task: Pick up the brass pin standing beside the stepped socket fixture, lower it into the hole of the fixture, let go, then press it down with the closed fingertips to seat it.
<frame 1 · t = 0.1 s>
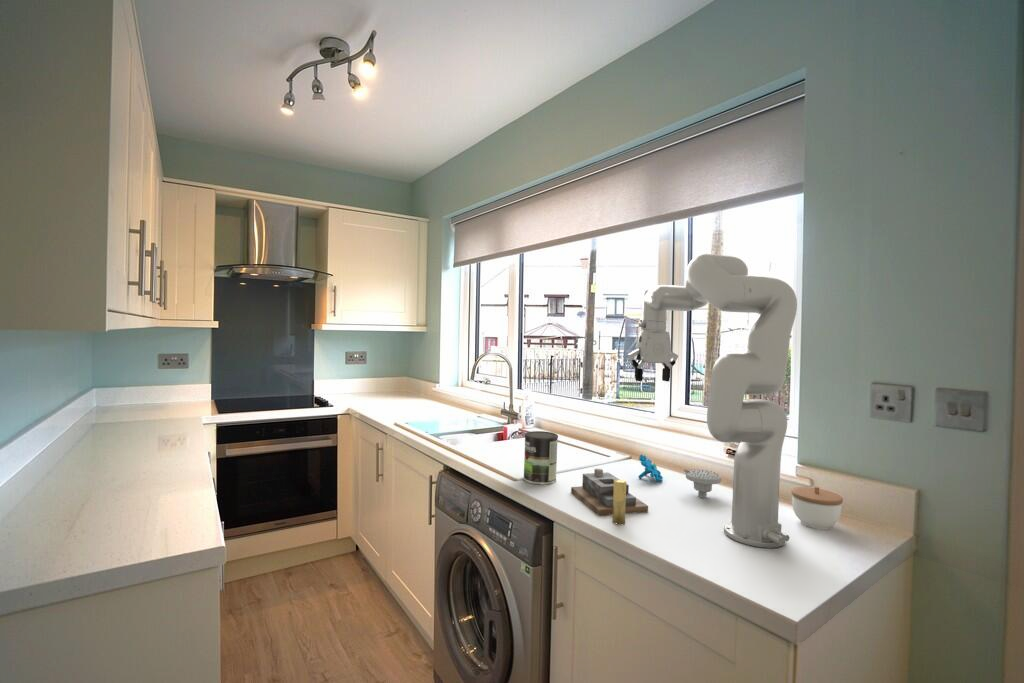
hand: (652, 381, 155), 31 cm above the worktop, tool pointing down, fingers open, 9 cm apart
showerhead: (701, 496, 140), on the worktop
coffee can: (540, 480, 151), on the worktop
gear: (650, 480, 155), on the worktop
stepped socket fixture: (607, 501, 133), on the worktop
lidded jar: (815, 525, 121), on the worktop
brass pin: (618, 522, 119), on the worktop
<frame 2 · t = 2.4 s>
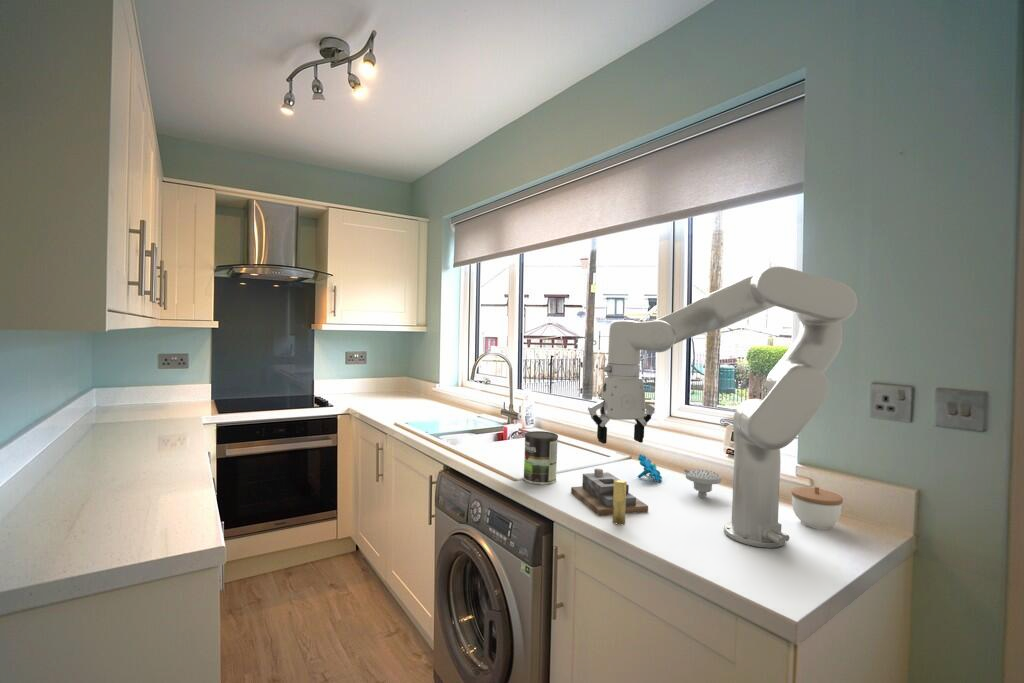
hand: (620, 441, 118), 20 cm above the worktop, tool pointing down, fingers open, 9 cm apart
nothing on the worktop moved.
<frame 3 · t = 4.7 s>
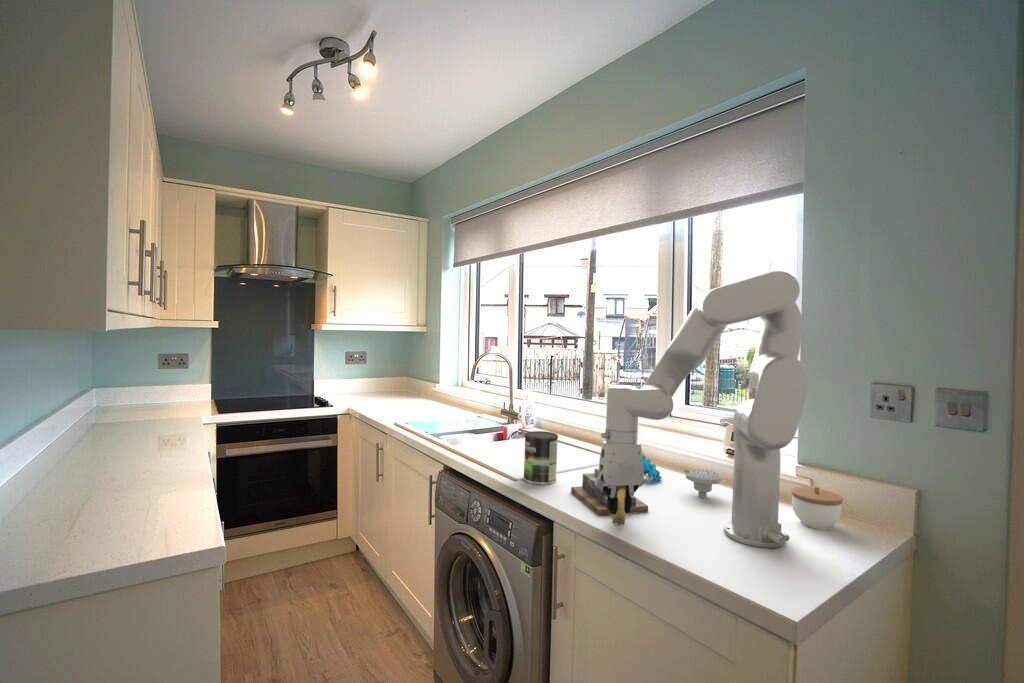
hand: (619, 511, 119), 3 cm above the worktop, tool pointing down, fingers closed on brass pin, 3 cm apart
brass pin: (618, 522, 119), on the worktop, touching gripper
everything else where it was.
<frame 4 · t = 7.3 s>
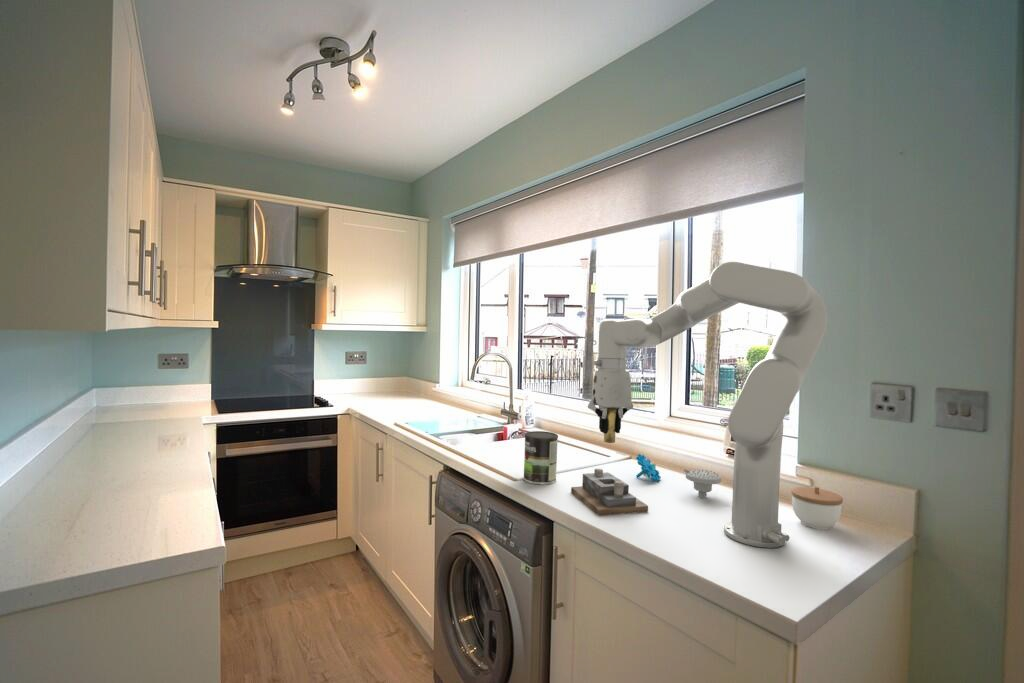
hand: (609, 431, 133), 19 cm above the worktop, tool pointing down, fingers closed on brass pin, 3 cm apart
brass pin: (609, 441, 133), point 16 cm above the worktop, touching gripper
everything else where it was.
when the fingers open (6 cm above the worktop, at t = 9.9 s): brass pin drops 2 cm, resting on stepped socket fixture.
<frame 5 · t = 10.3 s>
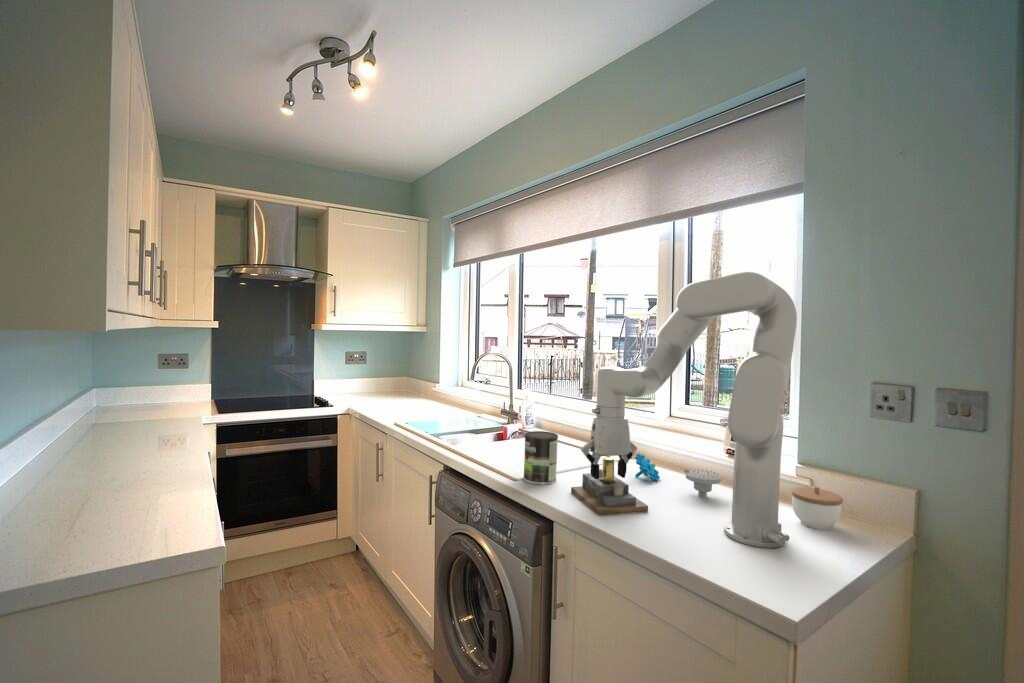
hand: (608, 476, 133), 7 cm above the worktop, tool pointing down, fingers open, 7 cm apart
brass pin: (608, 495, 133), point 2 cm above the worktop, touching stepped socket fixture
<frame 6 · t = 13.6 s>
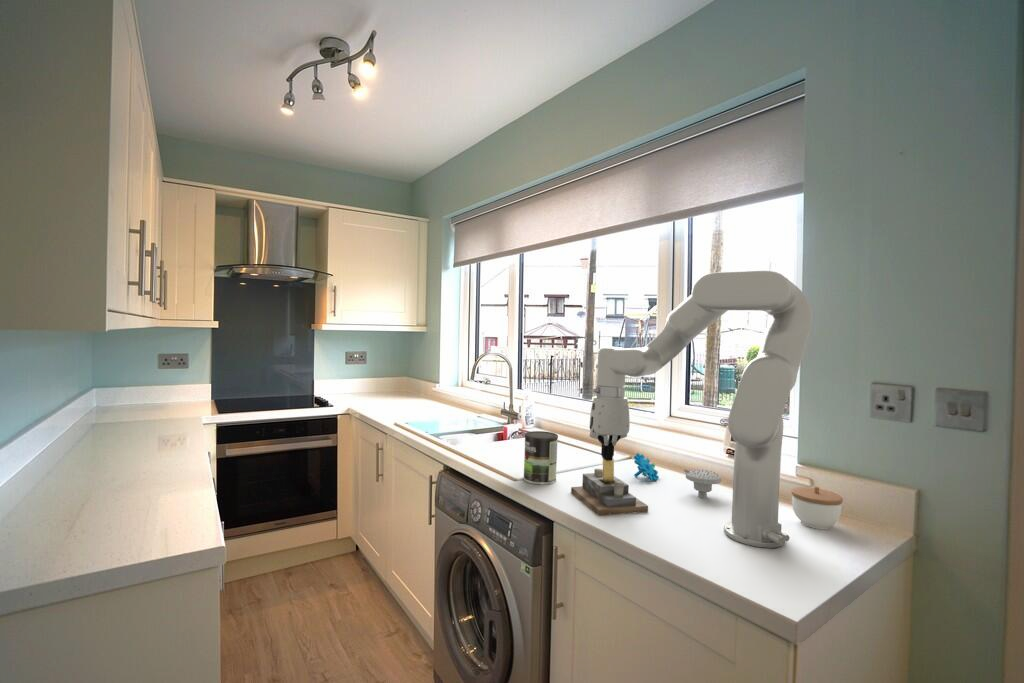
hand: (607, 458, 133), 12 cm above the worktop, tool pointing down, fingers closed
brass pin: (608, 495, 133), point 2 cm above the worktop, touching stepped socket fixture, gripper
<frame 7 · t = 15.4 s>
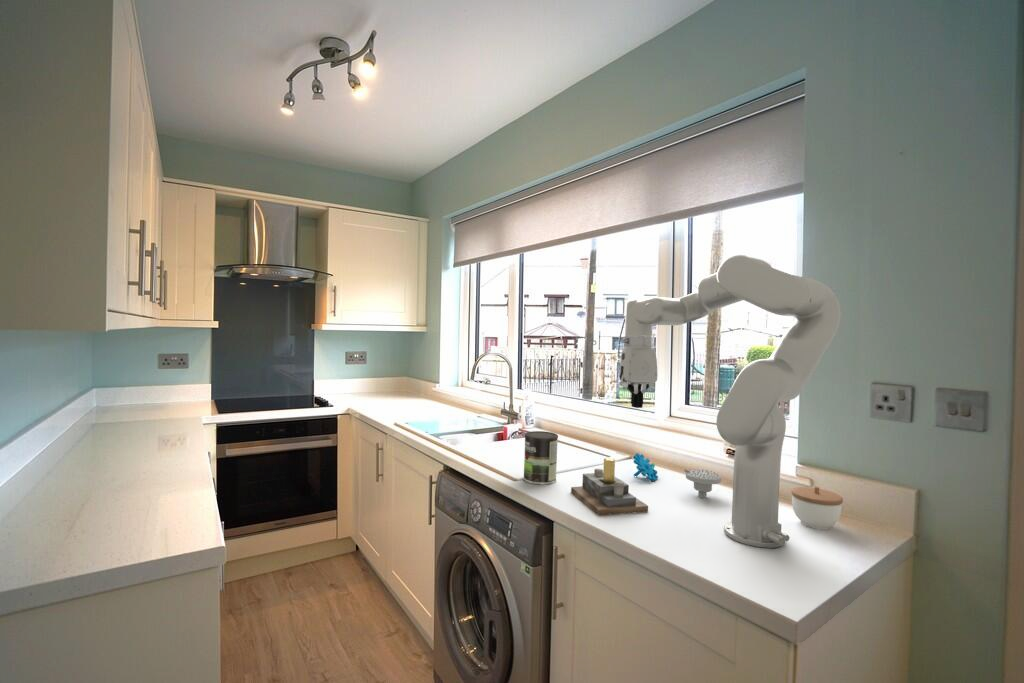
hand: (636, 407, 139), 25 cm above the worktop, tool pointing down, fingers closed
brass pin: (608, 496, 133), point 2 cm above the worktop, touching stepped socket fixture
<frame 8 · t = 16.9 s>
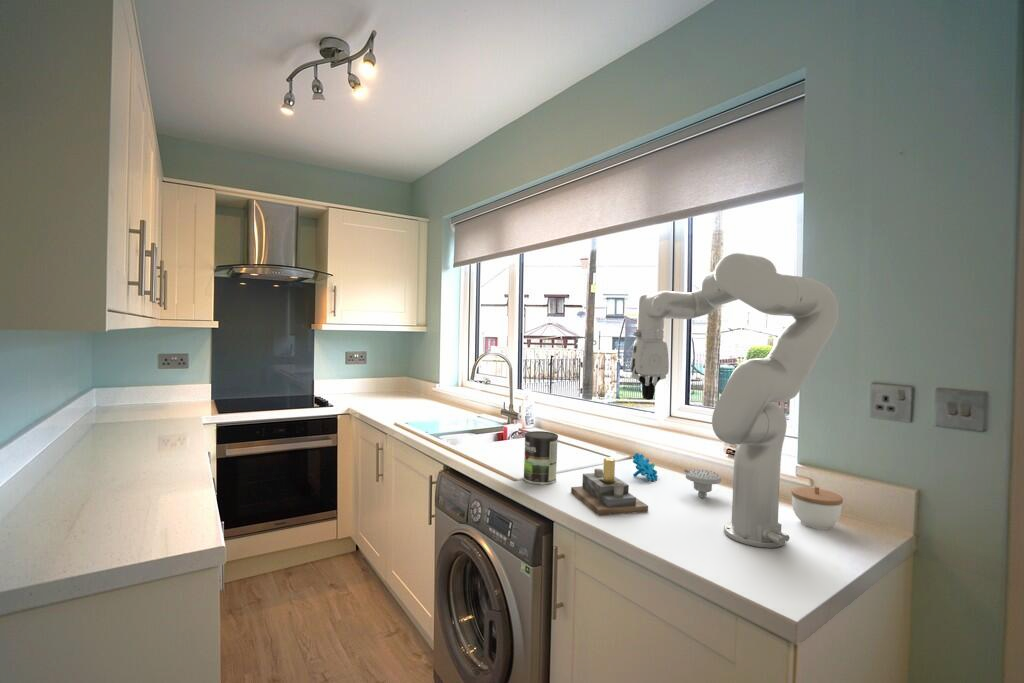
hand: (648, 398, 142), 27 cm above the worktop, tool pointing down, fingers closed
at the end: brass pin 0.1 cm off-centre on the stepped socket fixture, point 1.5 cm above the stepped socket fixture's base; brass pin tilted 0°; the gripper is holding nothing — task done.
